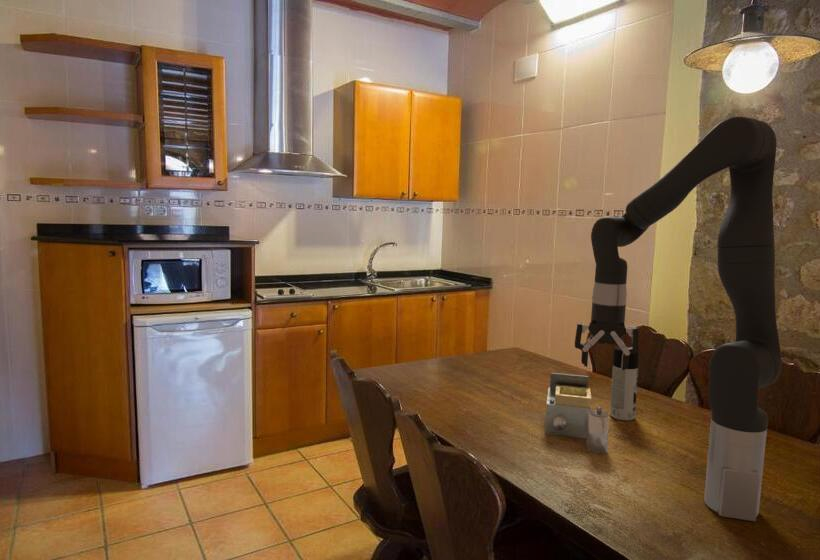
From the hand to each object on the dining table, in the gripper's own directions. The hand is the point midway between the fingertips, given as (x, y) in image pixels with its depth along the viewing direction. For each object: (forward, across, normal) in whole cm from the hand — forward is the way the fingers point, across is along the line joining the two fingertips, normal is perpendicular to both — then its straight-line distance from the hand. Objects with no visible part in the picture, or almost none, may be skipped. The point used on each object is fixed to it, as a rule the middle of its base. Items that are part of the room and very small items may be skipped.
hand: (604, 367), depth 128 cm
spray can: (+21, +8, +24) cm, 32 cm away
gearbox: (+20, -7, +10) cm, 24 cm away
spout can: (+20, 0, -1) cm, 20 cm away
